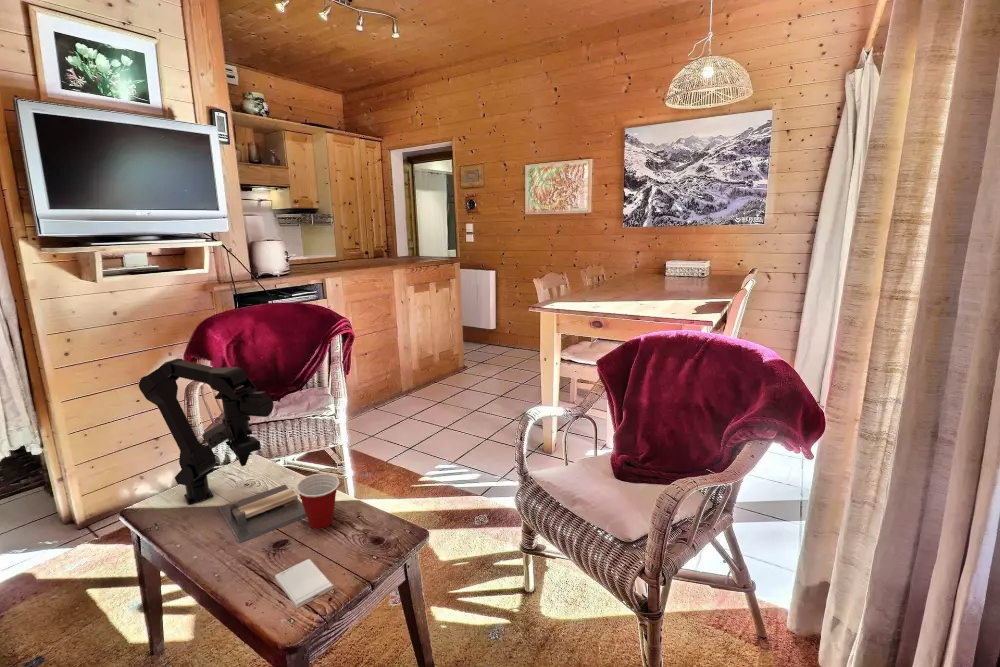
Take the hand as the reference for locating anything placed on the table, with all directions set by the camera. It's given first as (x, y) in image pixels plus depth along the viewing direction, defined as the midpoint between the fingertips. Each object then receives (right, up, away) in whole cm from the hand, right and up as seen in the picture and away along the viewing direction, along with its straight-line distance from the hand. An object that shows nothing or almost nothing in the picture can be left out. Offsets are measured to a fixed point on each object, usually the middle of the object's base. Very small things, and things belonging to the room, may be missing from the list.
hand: (243, 465), depth 142 cm
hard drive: (+29, -19, -30) cm, 46 cm away
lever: (+7, -11, -2) cm, 13 cm away
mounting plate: (+7, -13, -2) cm, 15 cm away
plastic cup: (+25, -14, -7) cm, 29 cm away
